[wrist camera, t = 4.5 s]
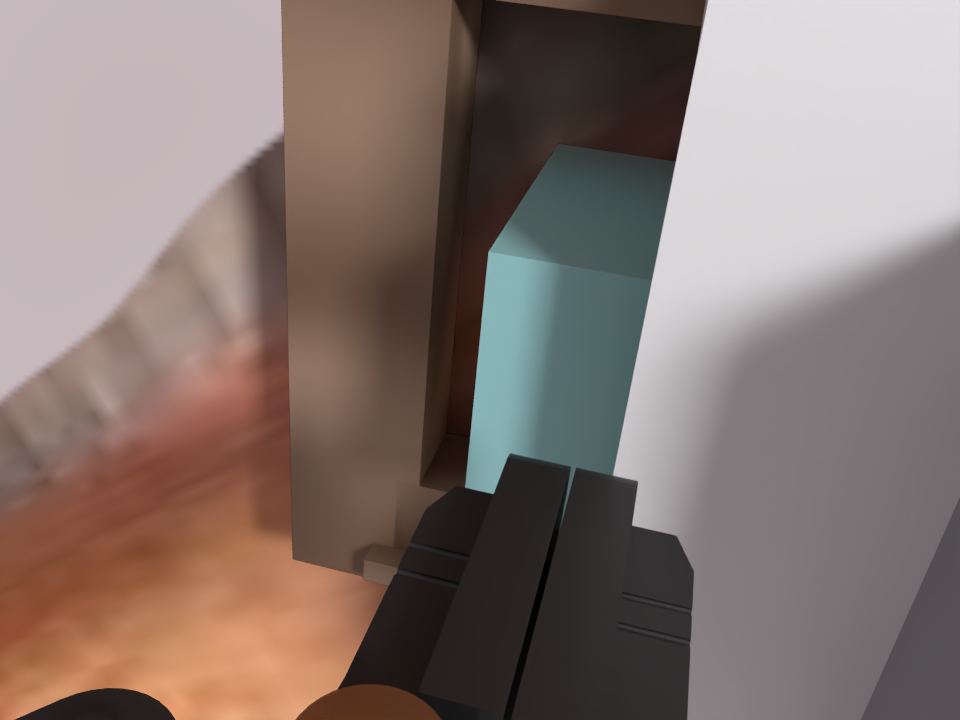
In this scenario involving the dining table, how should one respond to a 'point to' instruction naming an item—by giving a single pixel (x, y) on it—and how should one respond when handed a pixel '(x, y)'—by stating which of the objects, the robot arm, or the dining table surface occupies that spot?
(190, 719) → the dining table surface
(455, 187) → the brown flat frame
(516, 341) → the block
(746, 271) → the cover
